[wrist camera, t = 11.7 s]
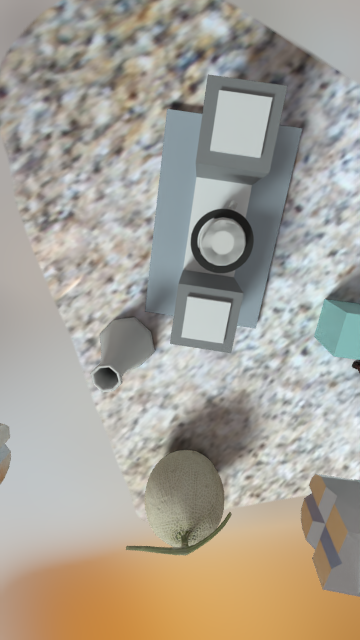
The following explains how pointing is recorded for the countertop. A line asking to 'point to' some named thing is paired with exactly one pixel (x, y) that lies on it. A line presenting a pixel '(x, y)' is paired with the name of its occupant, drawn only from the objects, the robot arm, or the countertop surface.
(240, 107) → the gray block stand
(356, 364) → the mate gourd
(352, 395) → the countertop surface
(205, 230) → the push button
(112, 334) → the flask
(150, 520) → the fruit
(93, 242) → the countertop surface
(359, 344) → the block
